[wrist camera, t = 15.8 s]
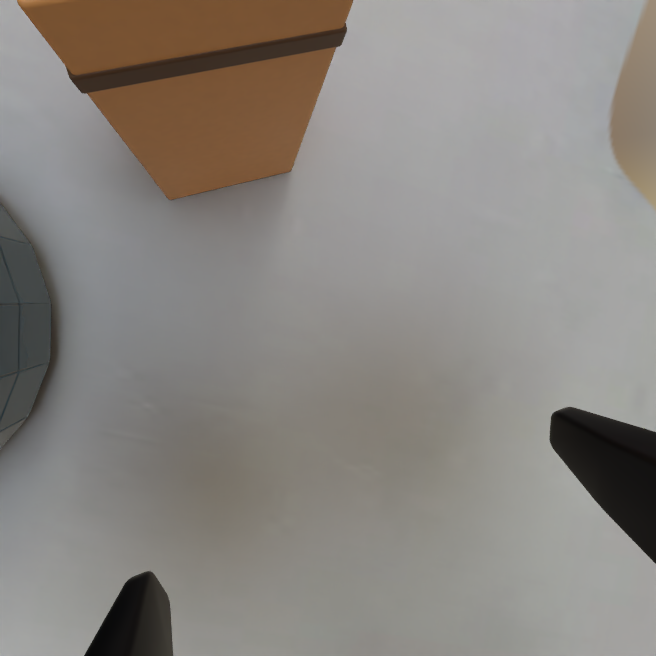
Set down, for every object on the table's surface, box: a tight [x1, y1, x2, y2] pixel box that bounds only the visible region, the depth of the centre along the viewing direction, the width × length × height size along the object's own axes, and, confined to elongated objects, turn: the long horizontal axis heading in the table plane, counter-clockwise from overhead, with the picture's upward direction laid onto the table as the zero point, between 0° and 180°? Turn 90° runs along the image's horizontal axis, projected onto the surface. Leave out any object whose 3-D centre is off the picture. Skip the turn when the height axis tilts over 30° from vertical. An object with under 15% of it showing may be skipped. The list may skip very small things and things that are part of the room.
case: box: [17, 0, 353, 200], centre depth 11 cm, size 4×6×12 cm
